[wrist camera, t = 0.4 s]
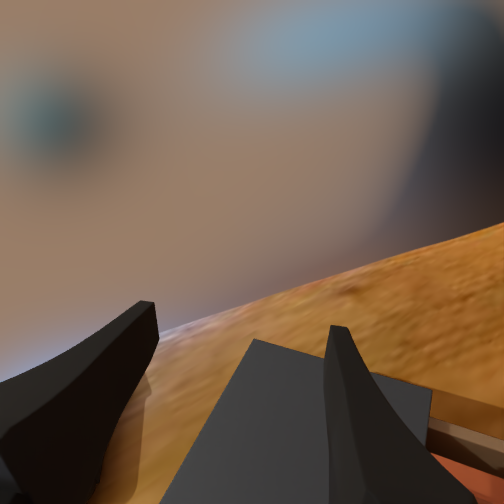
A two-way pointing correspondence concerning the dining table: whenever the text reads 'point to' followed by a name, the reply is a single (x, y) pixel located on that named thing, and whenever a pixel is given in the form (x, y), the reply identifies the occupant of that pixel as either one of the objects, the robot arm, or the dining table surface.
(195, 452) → the cabinet
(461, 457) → the drawer
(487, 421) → the dining table surface
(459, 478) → the ridged terracotta block
